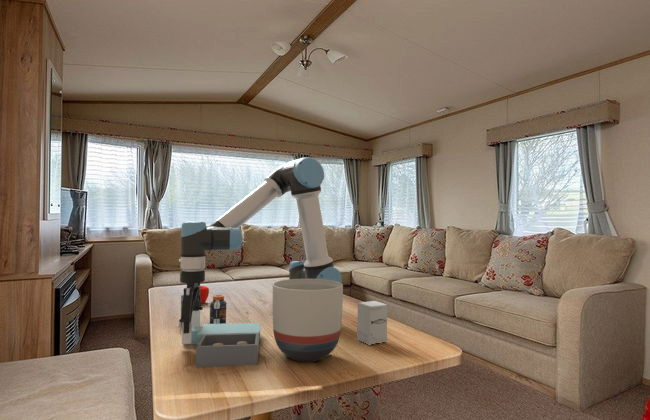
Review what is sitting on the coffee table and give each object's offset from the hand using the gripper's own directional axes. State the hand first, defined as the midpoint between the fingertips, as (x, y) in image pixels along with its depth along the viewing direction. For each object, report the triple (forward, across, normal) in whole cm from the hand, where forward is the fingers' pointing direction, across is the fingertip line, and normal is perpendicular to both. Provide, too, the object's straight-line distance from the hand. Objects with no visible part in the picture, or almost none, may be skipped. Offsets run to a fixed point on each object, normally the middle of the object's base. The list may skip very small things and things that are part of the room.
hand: (191, 336), depth 120 cm
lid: (+2, 0, +10) cm, 10 cm away
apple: (+3, -62, -9) cm, 63 cm away
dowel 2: (+2, +16, +17) cm, 23 cm away
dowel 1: (+2, +17, +10) cm, 20 cm away
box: (+3, -24, -6) cm, 25 cm away
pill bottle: (+3, -21, +5) cm, 22 cm away
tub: (+2, +16, +13) cm, 21 cm away
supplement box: (+3, +3, +58) cm, 59 cm away
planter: (+3, +16, +35) cm, 39 cm away
